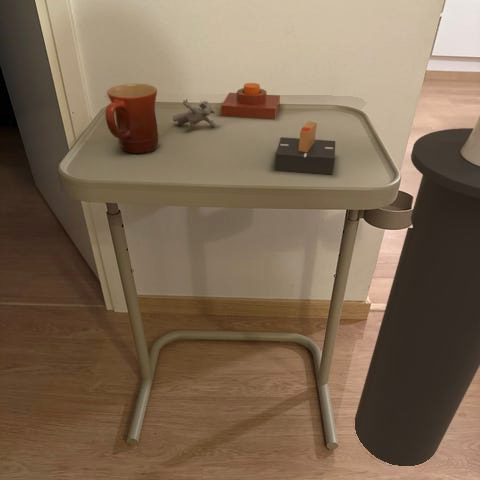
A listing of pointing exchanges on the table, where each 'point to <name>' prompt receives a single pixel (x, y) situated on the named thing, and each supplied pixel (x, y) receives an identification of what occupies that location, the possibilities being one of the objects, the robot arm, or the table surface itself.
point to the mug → (133, 117)
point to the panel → (305, 157)
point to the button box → (250, 105)
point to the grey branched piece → (195, 114)
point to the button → (251, 88)
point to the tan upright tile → (307, 136)
